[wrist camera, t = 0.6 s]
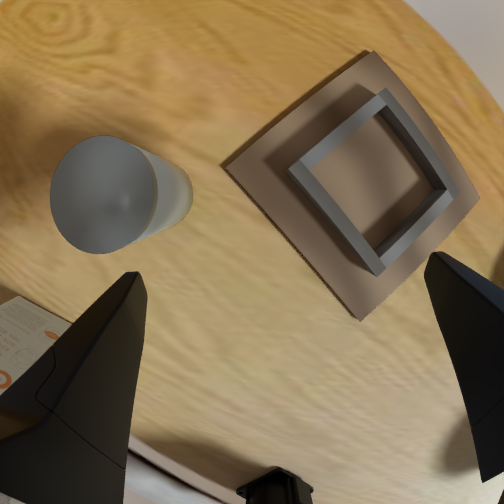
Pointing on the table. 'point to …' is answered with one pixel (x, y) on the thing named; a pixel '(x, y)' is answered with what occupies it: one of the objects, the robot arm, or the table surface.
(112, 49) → the table surface
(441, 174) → the jig board
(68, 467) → the robot arm
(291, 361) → the table surface
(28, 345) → the small box
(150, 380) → the table surface
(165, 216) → the grey cylinder
